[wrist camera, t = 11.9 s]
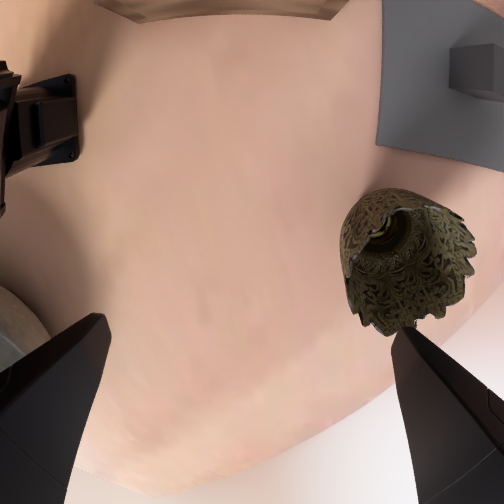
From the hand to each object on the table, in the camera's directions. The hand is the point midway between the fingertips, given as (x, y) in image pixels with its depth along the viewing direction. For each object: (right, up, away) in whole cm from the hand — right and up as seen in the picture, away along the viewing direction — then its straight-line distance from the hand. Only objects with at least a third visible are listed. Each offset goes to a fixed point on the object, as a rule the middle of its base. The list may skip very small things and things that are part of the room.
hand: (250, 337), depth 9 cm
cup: (+8, +5, +12) cm, 15 cm away
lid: (+15, +15, +7) cm, 22 cm away
